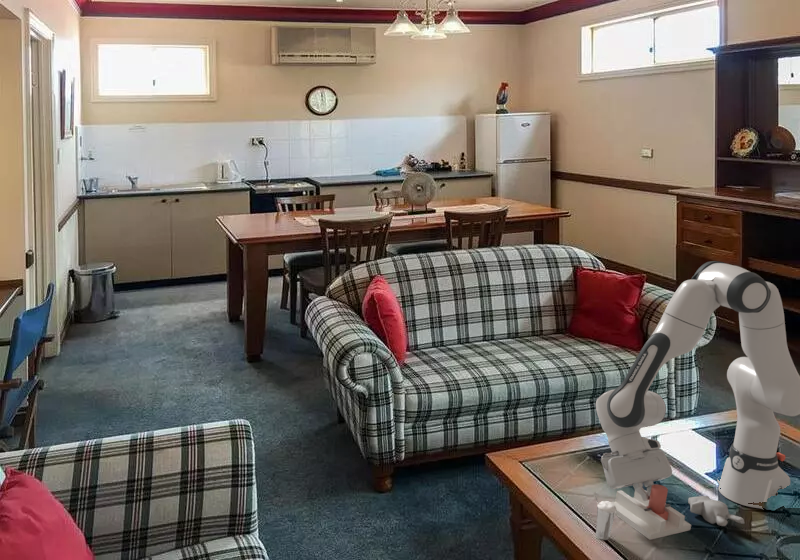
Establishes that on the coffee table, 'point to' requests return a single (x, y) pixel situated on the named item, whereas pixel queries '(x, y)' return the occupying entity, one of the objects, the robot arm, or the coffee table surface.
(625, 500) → the white slider track base
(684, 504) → the coffee table surface
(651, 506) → the red plug
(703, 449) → the coffee table surface
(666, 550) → the coffee table surface
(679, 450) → the coffee table surface
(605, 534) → the milkshake
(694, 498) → the bunny figurine
